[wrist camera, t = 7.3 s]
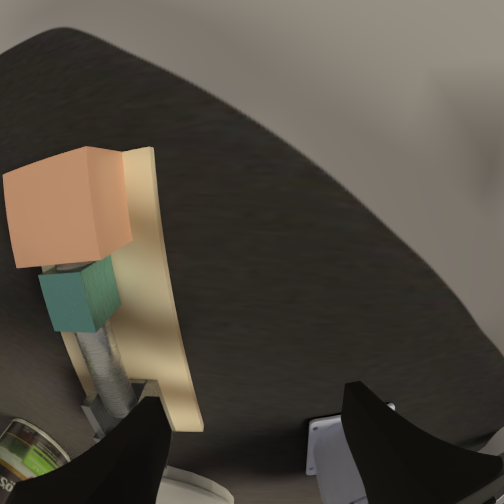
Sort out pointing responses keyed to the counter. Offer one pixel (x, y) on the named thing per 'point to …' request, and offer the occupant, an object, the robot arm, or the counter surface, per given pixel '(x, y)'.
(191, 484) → the lid
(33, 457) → the coffee can
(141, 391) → the gray notched block
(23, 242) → the socket
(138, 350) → the board
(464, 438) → the counter surface
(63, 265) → the tube
